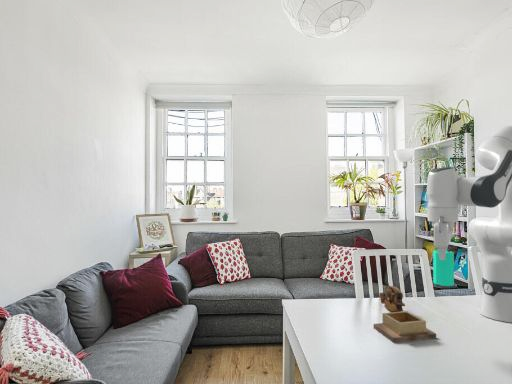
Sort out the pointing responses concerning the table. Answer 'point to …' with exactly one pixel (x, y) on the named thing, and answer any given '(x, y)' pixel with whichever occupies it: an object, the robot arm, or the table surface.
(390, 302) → the wooden carving
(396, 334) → the candle stand
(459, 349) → the table surface
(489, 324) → the table surface
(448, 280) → the candle
